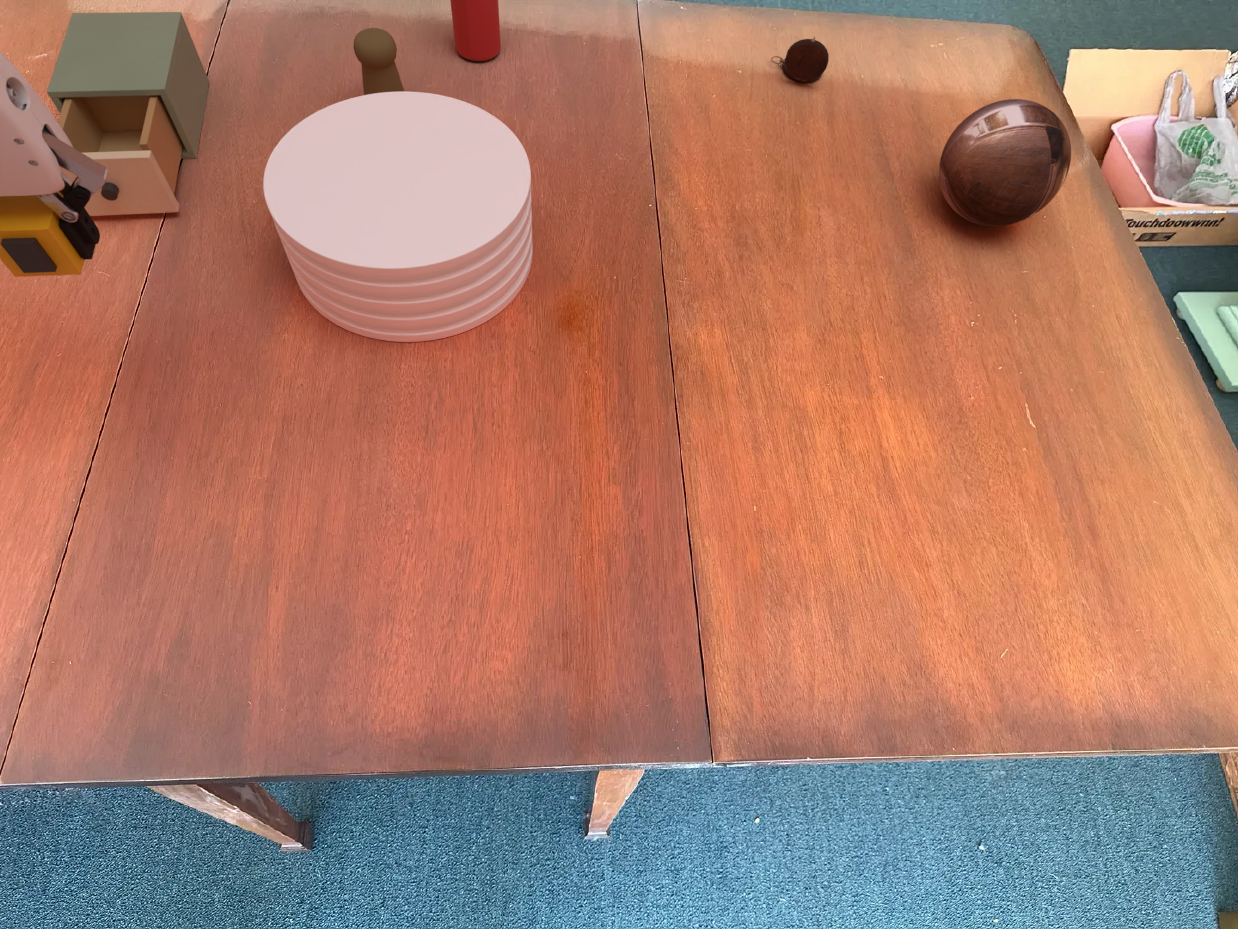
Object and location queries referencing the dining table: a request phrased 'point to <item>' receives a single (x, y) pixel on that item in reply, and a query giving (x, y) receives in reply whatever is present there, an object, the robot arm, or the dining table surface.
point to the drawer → (126, 151)
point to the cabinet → (135, 65)
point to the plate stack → (403, 214)
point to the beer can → (476, 28)
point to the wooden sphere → (1005, 162)
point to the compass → (805, 60)
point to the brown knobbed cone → (377, 61)
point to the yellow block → (34, 239)
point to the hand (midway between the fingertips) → (52, 246)
